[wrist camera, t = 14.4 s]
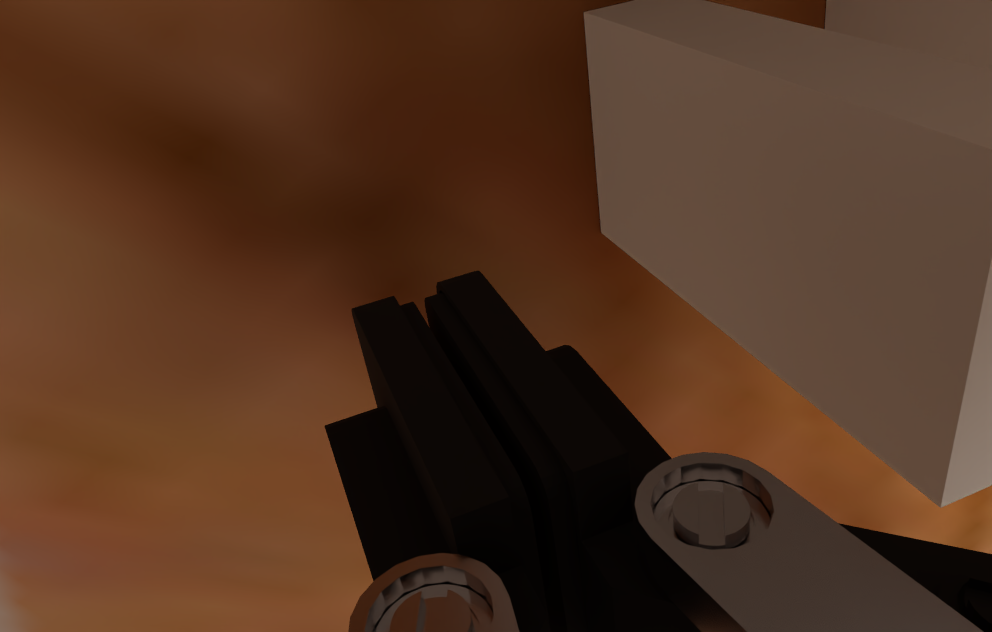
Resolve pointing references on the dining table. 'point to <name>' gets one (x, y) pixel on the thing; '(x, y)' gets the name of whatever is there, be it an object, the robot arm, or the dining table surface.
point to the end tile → (813, 214)
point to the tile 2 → (919, 26)
